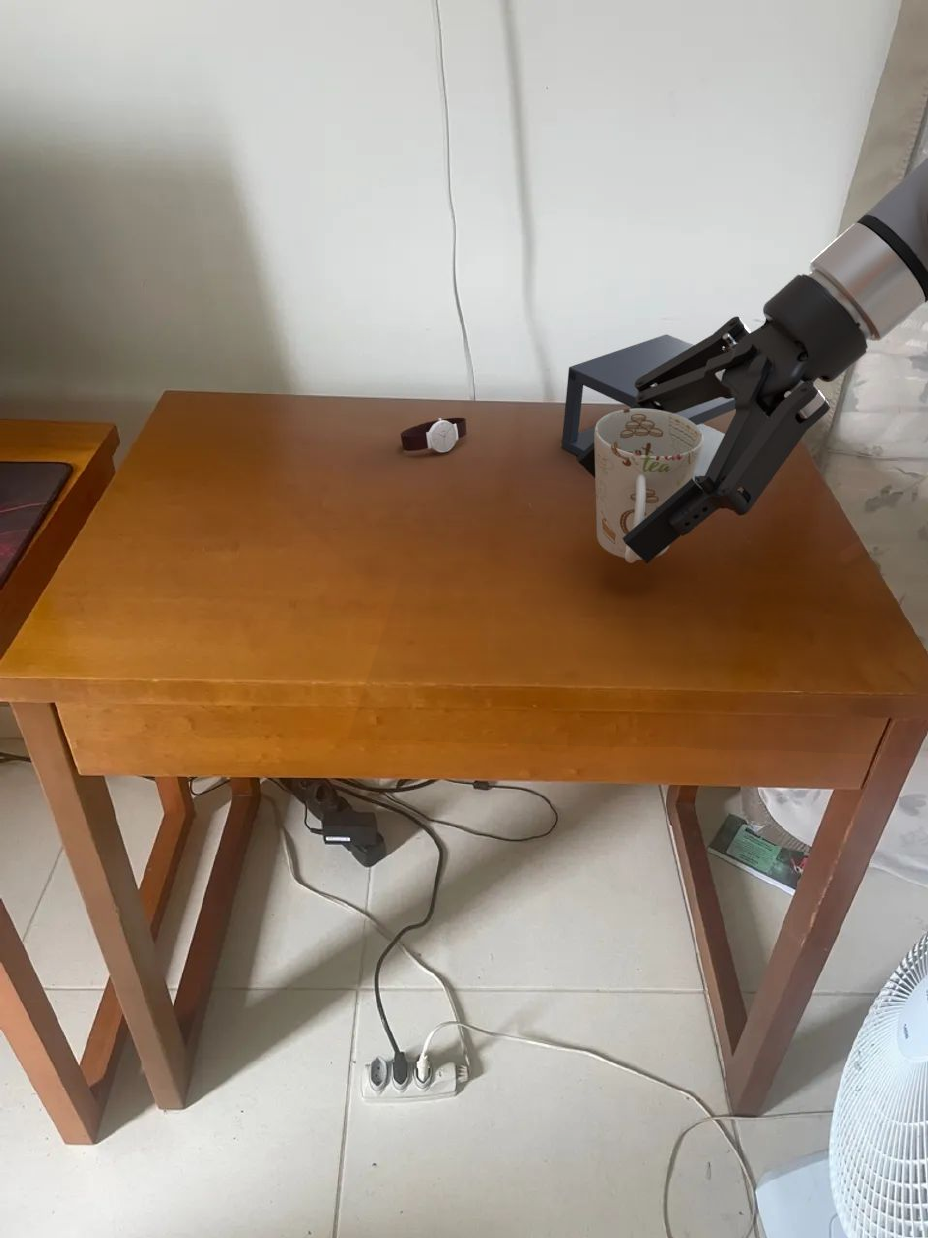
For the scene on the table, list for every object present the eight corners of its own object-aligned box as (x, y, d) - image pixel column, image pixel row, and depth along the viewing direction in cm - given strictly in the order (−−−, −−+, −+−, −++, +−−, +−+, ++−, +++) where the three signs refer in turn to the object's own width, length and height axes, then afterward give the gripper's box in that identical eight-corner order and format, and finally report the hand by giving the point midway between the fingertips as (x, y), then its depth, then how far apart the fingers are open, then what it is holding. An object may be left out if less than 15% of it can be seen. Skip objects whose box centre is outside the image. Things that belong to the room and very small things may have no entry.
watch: (415, 464, 100) (415, 431, 98) (390, 446, 103) (390, 414, 101) (476, 445, 104) (477, 413, 102) (450, 428, 107) (451, 397, 105)
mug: (681, 519, 85) (700, 412, 79) (688, 604, 75) (710, 489, 69) (584, 510, 86) (596, 404, 79) (578, 594, 76) (591, 479, 70)
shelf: (763, 460, 103) (782, 379, 98) (669, 504, 95) (684, 419, 90) (654, 410, 112) (666, 333, 107) (560, 447, 104) (568, 366, 99)
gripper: (955, 412, 63) (691, 623, 70) (790, 288, 82) (595, 464, 89) (904, 334, 59) (628, 566, 66) (742, 224, 78) (542, 412, 85)
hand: (609, 508), depth 77 cm, fingers closed on mug, 12 cm apart
